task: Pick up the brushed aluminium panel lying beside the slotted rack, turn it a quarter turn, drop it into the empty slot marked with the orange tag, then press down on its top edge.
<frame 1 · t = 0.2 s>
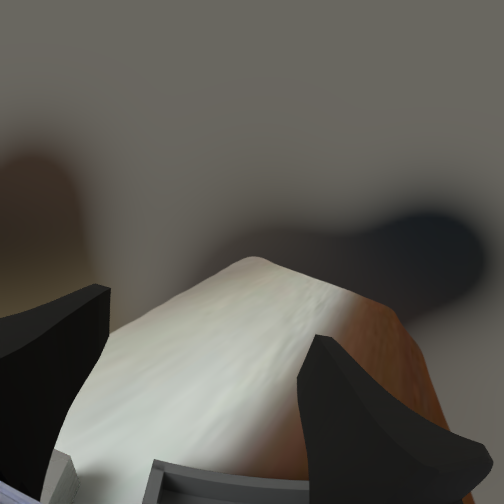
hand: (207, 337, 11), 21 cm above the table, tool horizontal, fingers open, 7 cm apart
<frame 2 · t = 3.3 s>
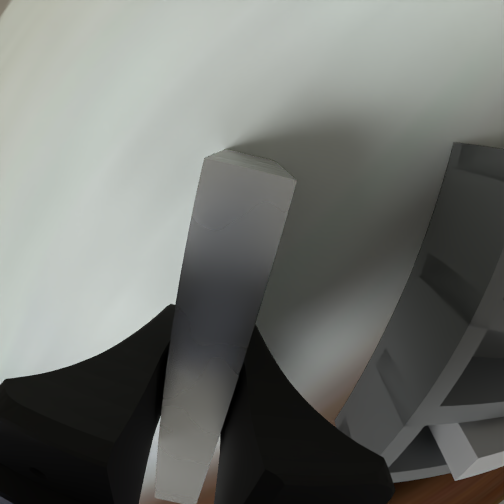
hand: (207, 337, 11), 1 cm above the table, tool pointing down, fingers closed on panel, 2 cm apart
panel: (211, 315, 12), on the table, touching gripper
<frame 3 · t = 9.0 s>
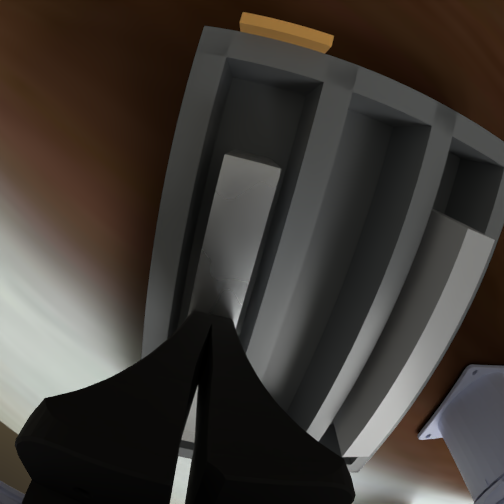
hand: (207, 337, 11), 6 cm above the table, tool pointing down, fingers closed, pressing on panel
rack: (303, 291, 16), on the table
panel: (219, 279, 15), point 1 cm above the table, touching gripper, rack
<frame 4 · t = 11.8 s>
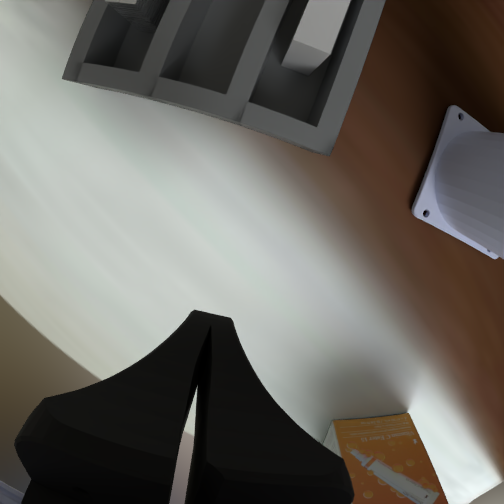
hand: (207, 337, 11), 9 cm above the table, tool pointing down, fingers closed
small box: (361, 434, 26), on the table
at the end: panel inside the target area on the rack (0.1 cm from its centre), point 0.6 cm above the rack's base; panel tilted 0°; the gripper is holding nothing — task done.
